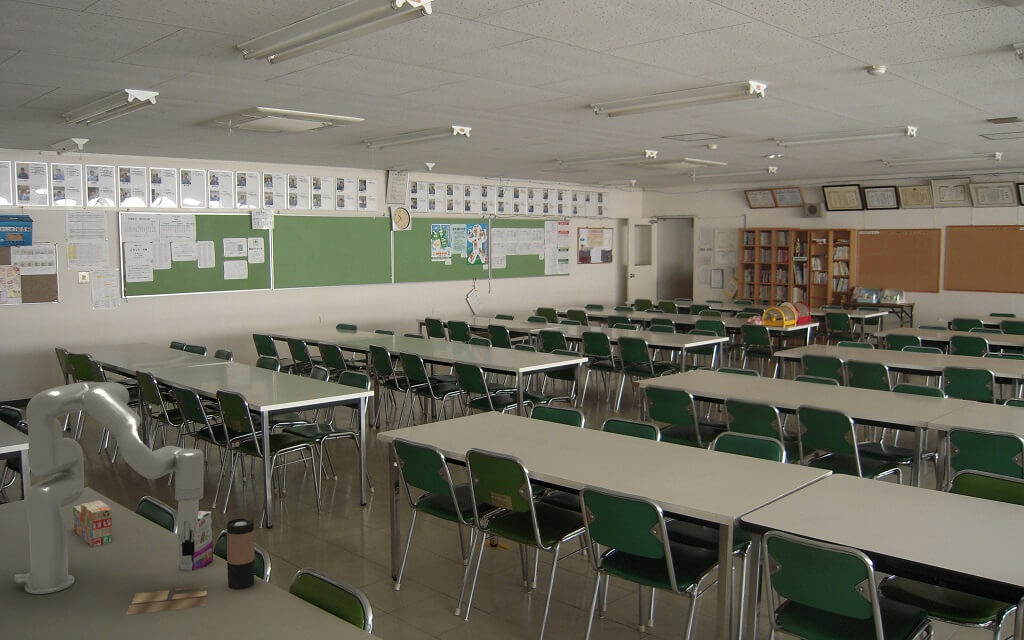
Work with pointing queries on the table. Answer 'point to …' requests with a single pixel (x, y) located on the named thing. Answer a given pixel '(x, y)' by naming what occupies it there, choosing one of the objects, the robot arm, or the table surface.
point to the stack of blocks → (93, 522)
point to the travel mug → (240, 553)
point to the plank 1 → (150, 596)
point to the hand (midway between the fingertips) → (188, 554)
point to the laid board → (166, 605)
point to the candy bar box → (199, 544)
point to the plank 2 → (189, 594)
